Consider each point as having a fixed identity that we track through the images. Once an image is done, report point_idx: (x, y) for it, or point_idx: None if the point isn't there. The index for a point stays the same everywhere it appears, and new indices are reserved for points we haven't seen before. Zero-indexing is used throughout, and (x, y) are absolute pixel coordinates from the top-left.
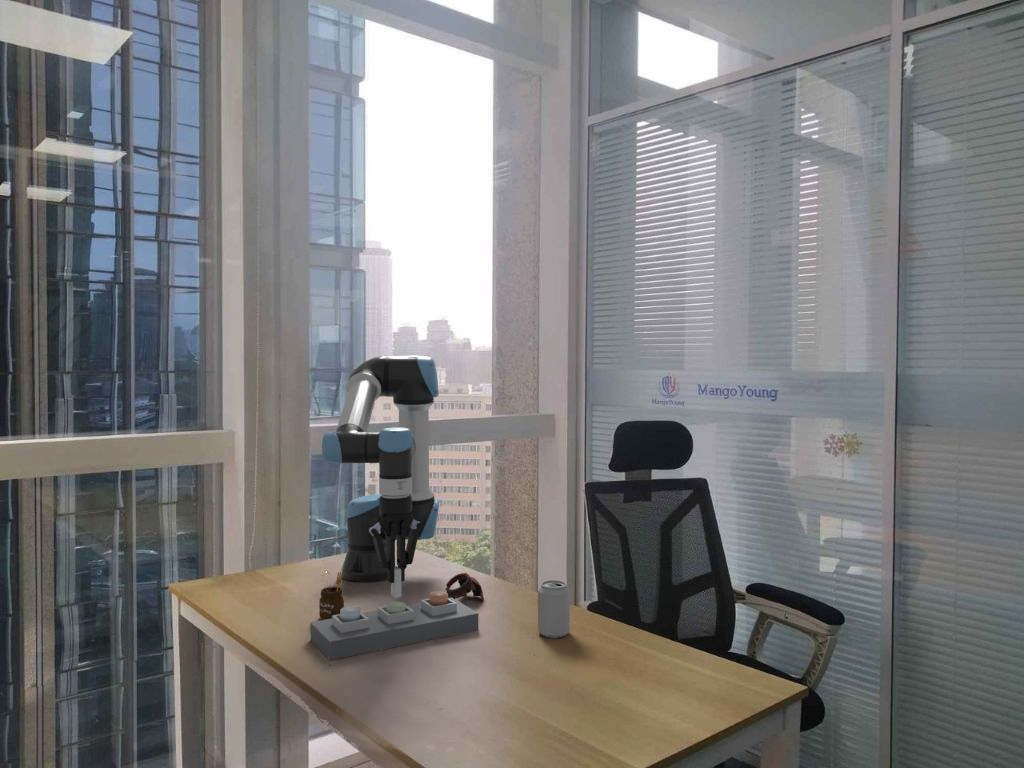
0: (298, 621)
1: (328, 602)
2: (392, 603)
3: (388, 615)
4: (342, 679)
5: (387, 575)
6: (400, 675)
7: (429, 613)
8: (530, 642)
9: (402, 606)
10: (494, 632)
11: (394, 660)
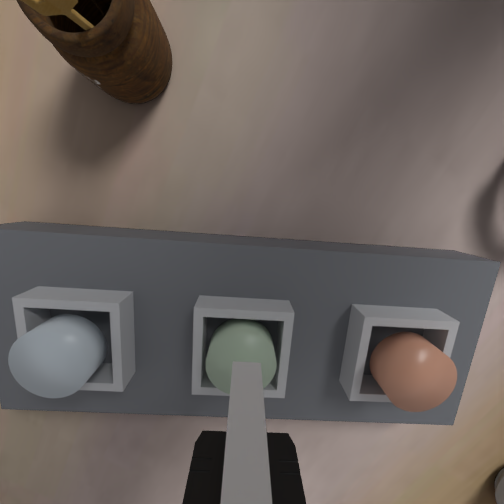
0: (18, 26)
1: (69, 61)
2: (236, 347)
3: (192, 394)
4: (44, 464)
5: (189, 475)
6: (152, 498)
7: (342, 363)
8: (450, 491)
9: None
10: None
11: (171, 438)
